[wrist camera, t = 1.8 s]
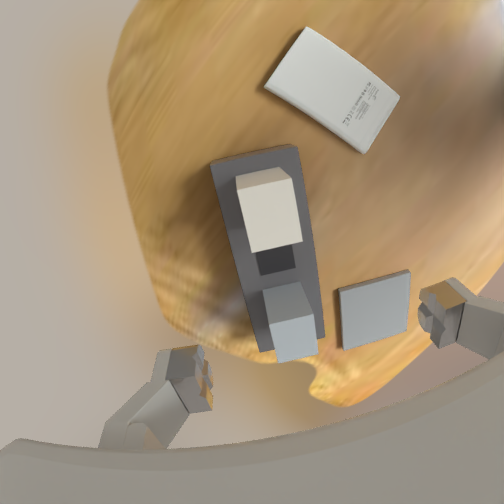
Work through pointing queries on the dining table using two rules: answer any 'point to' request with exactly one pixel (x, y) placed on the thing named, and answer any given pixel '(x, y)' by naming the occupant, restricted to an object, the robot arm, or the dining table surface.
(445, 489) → the robot arm
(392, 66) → the dining table surface
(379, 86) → the external hard drive
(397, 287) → the rubber mat
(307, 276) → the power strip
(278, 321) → the block
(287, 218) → the block
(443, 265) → the dining table surface
